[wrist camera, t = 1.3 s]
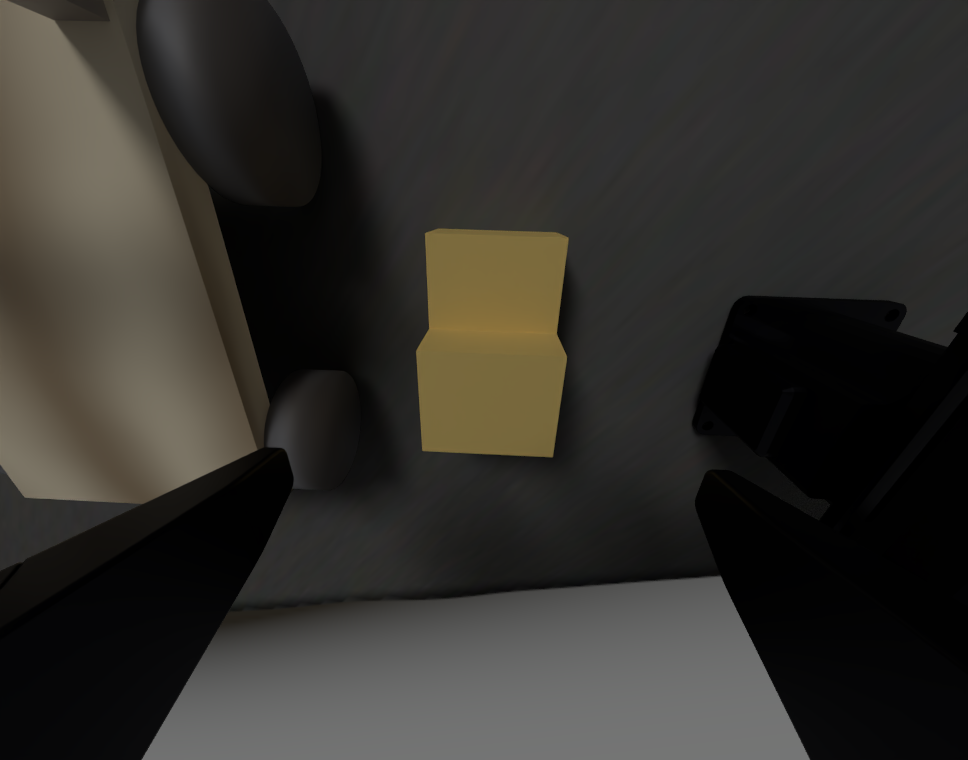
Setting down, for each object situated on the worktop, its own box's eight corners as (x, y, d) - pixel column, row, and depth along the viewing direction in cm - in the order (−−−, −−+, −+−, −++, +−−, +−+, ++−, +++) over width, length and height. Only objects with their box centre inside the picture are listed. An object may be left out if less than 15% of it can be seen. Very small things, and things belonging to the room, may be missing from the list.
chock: (556, 232, 14) (583, 243, 9) (538, 390, 17) (552, 457, 12) (438, 228, 14) (409, 238, 9) (443, 386, 17) (422, 451, 12)
